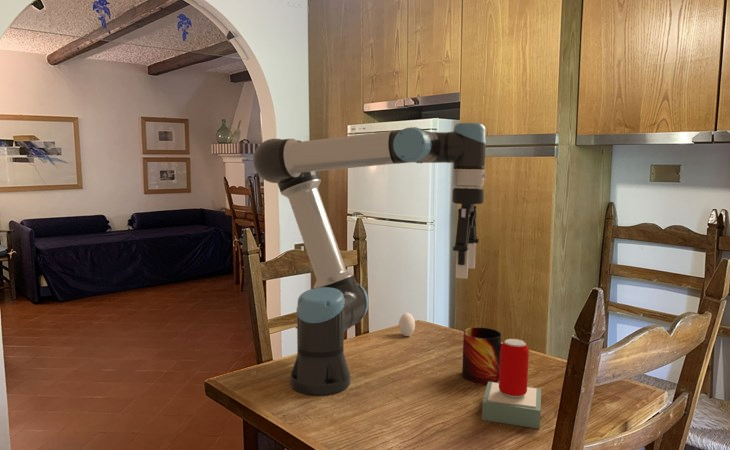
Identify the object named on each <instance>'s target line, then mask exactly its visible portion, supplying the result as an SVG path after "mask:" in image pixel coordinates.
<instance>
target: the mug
mask: <svg viewBox="0 0 730 450" xmlns="http://www.w3.org/2000/svg"><path fill="white" fill-rule="evenodd" d="M462 338H463V341H462V343H463V345H462V366H461V367H462V369H461V371H462V372H461V373H462V374H461V377H462V379H463V380H465V381H466V382H469V383H472V384H475V385H486V386H487V384H488V381H489V382H496V383H499V370H500V348H501V345H502V344H503V343H502V333H501V332H500V331H498V330H495V329H493V328H488V327H469V328H465V329H464V330H463V337H462Z"/></svg>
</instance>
